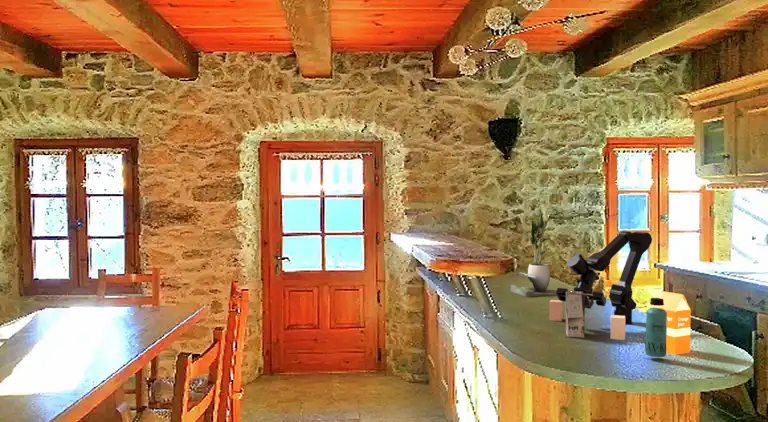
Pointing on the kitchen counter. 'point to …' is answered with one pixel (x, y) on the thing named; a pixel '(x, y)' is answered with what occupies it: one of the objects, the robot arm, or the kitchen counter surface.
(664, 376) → the kitchen counter surface
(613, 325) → the cream block
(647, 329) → the beverage bottle
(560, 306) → the terracotta block
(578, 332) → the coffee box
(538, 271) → the potted plant
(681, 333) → the orange juice
